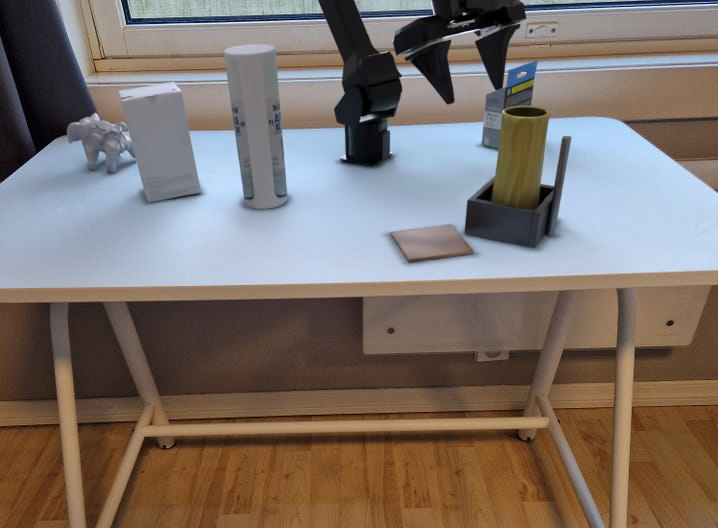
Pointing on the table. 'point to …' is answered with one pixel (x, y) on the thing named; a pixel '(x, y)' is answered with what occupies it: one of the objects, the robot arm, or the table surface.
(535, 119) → the vase
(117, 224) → the table surface
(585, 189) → the table surface
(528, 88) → the tape cartridge
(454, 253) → the cork pad
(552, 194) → the holder
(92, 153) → the elephant statuette
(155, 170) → the cosmetic box
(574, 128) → the table surface
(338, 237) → the table surface
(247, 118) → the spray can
